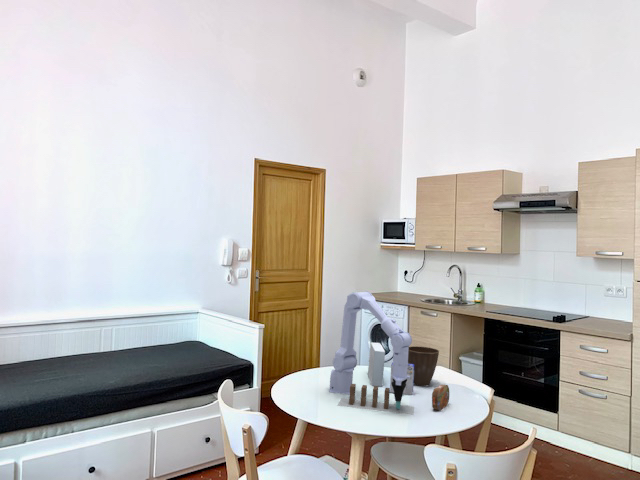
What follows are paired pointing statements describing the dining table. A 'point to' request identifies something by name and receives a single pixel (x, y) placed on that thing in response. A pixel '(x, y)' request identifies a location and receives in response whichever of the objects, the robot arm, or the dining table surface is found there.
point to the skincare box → (376, 364)
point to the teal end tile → (398, 404)
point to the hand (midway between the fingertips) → (398, 399)
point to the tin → (440, 397)
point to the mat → (378, 406)
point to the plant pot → (423, 363)
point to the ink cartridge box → (410, 382)
